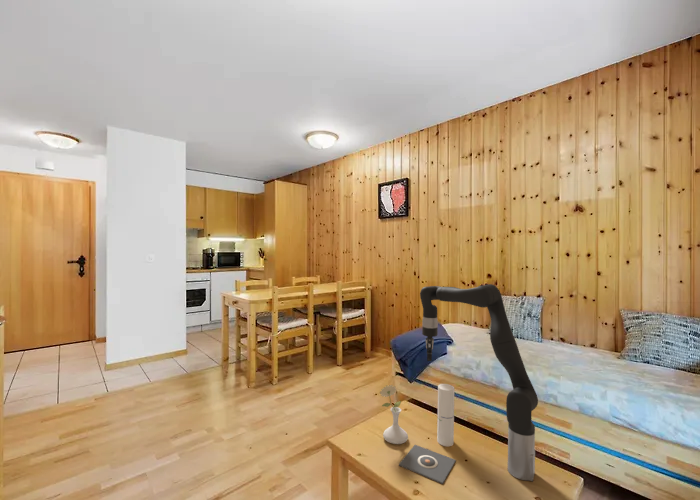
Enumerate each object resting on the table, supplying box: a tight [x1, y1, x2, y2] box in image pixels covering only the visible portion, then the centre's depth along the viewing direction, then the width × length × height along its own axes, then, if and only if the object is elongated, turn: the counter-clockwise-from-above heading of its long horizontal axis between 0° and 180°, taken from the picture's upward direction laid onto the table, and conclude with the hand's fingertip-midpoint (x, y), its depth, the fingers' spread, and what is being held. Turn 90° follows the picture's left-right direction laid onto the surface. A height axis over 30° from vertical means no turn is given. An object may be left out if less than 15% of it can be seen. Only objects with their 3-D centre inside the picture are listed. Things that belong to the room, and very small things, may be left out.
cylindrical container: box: [436, 383, 455, 447], centre depth 151 cm, size 7×7×25 cm
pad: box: [398, 444, 457, 485], centre depth 136 cm, size 18×16×1 cm
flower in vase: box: [379, 384, 409, 445], centre depth 152 cm, size 13×11×25 cm
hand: (429, 359), depth 168 cm, fingers open, 3 cm apart
